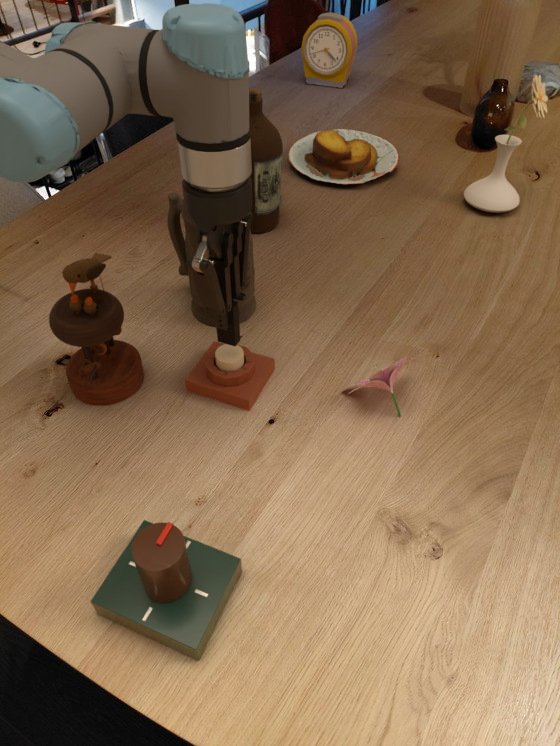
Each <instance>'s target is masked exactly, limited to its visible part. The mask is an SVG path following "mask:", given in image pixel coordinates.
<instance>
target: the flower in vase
mask: <svg viewBox="0 0 560 746" xmlns="http://www.w3.org/2000/svg"><path fill="white" fill-rule="evenodd" d="M530 91H531V99H530V100H529V101H528V102H527V103H526V104H525V106H523V108H522V110H520V112H519V114H518V116H517V118H516V120H515V122H514V124H513V125H512V124H510V125H509V126H508V127H507V128H503V130H504V131H507V132H510V133H509V134H498V135H496V136H495V137H494V141H495V142H496V146H497V154H496V158H495V159H496V160H495V164H494V167H493V170H492V172H491V173H490V174H489V175H487V176H485V177H483V178H480V179H478V180H476V181H474V182H472V183H471V184H469V185H468V186H467V187H466V188H465V189H464V191H463V197H464V199H465V201H466V203H467V204H469V205H470V206H471V207H473V208H475V209H477V210H480V211H483V212H487V213H496V214H497V213H498V214H499V213H507V212H510V211H513V210H514V209H515V208H517V207H518V206H519V205H520V201H521V200H520V195H519V193H518V192H517V190H516V188H515V187H514V186H513V185H512V184H511V182H509V180H508V179H507V178H506V169H507V166H508V163H509V160H510V158H511V156H512V154H513V152H514V151H515V150H516V149H517V148H518V147H519V146H520V145H521V144H522V142H523V141H522V139H521V138H519V137H518V136H515V135H513V132H515V131H518V130H519V129H525V127H526V126H527V116H526V115H525V114H523V113H524V111H525V110H526V109H527V108H528V107H529V106H530V104H531V103H532V108H533V111H534V113H535V117H536V118H538V119H539V120H542V119H543V120H545V114H548V104H547V102H548V101H549V96H548V95H547V94H546V93H547V92H546V82H542V76H541V74H539V75H537V74H535V75H534V76H533V78H532V83H531V90H530ZM516 125H518V127H519V128H517V127H516Z"/></svg>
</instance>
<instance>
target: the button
mask: <svg viewBox="0 0 560 746" xmlns="http://www.w3.org/2000/svg"><path fill="white" fill-rule="evenodd" d="M223 344H224V345H222V346H220V347H219V348H217V350H216V352H215V359H216V365H217V367H218V368H219V369H220V370H222V371H225V372H232V371H237V370H239V369H240V368H241V367H242V366H243V364H244V351H243V349H242V348H241V347H240V346H238V345H239V344H237V346H236V347H235V346H231V345H228V344H225V343H223Z"/></svg>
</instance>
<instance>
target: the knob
mask: <svg viewBox="0 0 560 746" xmlns="http://www.w3.org/2000/svg"><path fill="white" fill-rule="evenodd" d="M184 536H185V535H184V534H183V532H182V531H181V529H179V527H177V526H176V525H174V523H173V522H169V521H167V522H155V523H153V524H151V525H149V526H147V527H145V528H144V529H142V530H141V531H140V532H139V533H138V534H137V536H136V537H135V539H134V541H133V543H132V548H131V553H132V557H133V560H134V563H135V565H136V568H137V571H138V574H139V576H140V579H141V582H142V585H143V587H144V590H145V592H146V594H147V595H148V597H149V598H151V599H152V600H154V601H156V602H159V603H170V602H173V601H176V600H178V599H179V598H181V597H182V596H183V595H184V594H185V593H186V592H187V591H188V589H189V587H190V585H191V582H192V571H191V566H190V562H189V557H188V553H187V548H186V544H185V539H184Z"/></svg>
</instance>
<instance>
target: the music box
mask: <svg viewBox="0 0 560 746" xmlns="http://www.w3.org/2000/svg"><path fill="white" fill-rule="evenodd" d="M110 259H112V255H109V254H105V253H98V252H95V253H94V254H93V255H92V257H87V258H82V259H79V260H76V261H74V262H72V263H70V264H68V265H66V266H65V267H64V268H63V269H62V272H61V275H62V277H63V279H64V280H65V282H67V283H68V286H69V290H70V292H69V293H67V294H65V295H63V296H61V297H60V298H59V299H58V300H57V301H56V302H55V303H54V304H53V306H52V308H51V309H50V312H49V316H48V324H49V328H50V331H51V333H53V335H54V336H55V338H56V339H58V340H59V341H60V342H62V343H64V344H66V345H69V346H73V347H77V348H79V349H78V350H77V351H75V352H74V353H73V354H72V355H71V356H70V358H69V359H68V361H67V363H66V366H65V375H66V378H67V381H68V384H69V387H70V390H71V392H72V394H73V396H74V397H75V398H76V399H77V400H78V401H80V402H81V403H83V404H86V405H90V406H95V407H106V406H112V405H116V404H119V403H123V402H124V401H126V400H128V399H129V398H131V397H132V396H134V395H135V394H136V393H137V392H138V391H139V390H140V388H141V387H142V385H143V383H144V381H145V380H144V379H145V370H144V366H143V361H142V357H141V354H140V352H139V350H138V349H137V347H135V346H134V345H132V344H131V343H129V342H126V341H123V340H119V339H115V338H114V337H116V336H119V335H120V334H122V331H123V329H122V327H123V324H124V321H125V320H124V319H125V311H124V307H123V305H122V303H121V302H120V300H119V299H118V298H117V296H116V295H114V294H112V293H110V292H109V291H107V290H105V288H104V284H103V280H102V276H101V274H102V273H103V272H104V270H105V269H106V267H107V265H106V263H105V262H106V261H109V260H110ZM98 277H99V279H100V284H101V287H102V289H99V286H98V284H96V283H95V279H97V278H98ZM88 282H90V286H89V288H82V289H81V288H80V289H77V290H76V287H77V284H79V283H80V284H85V283H86V284H87V283H88Z"/></svg>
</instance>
